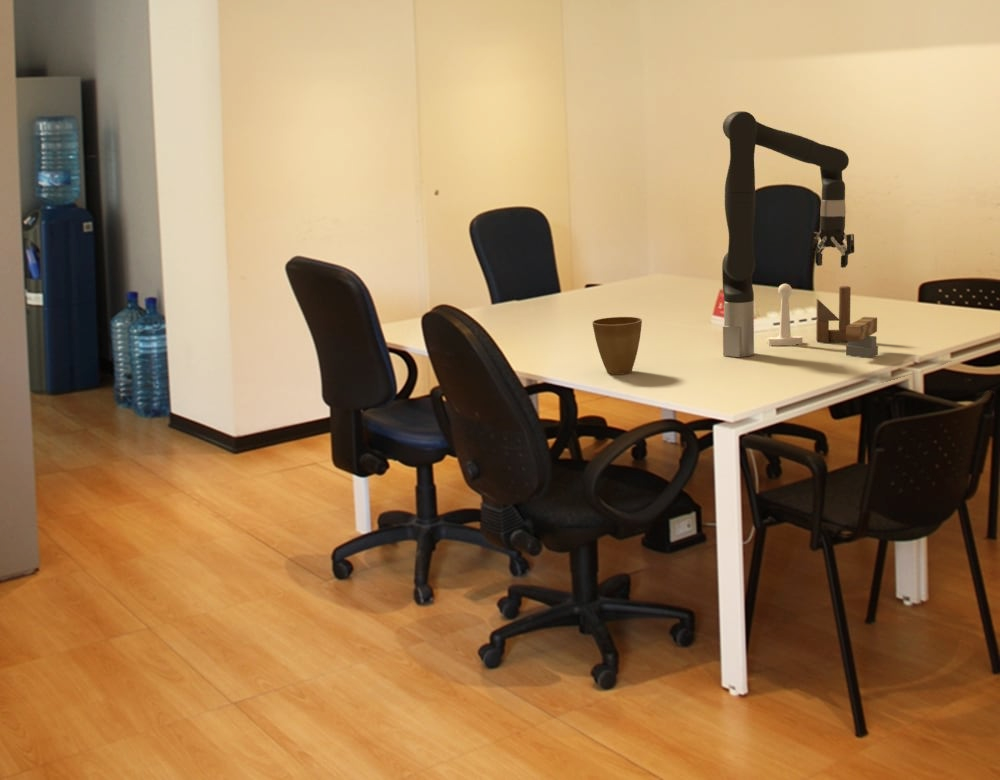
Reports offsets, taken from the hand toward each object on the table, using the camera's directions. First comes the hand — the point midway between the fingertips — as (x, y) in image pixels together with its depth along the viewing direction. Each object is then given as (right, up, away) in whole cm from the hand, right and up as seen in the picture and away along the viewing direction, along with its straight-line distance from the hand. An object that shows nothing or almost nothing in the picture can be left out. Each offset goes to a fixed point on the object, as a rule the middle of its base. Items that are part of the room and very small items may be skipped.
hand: (831, 266), depth 391 cm
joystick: (-10, -24, +20) cm, 32 cm away
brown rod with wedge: (+6, -23, +19) cm, 30 cm away
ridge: (+8, -28, -6) cm, 30 cm away
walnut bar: (+8, -22, -7) cm, 24 cm away
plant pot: (-68, -34, -13) cm, 77 cm away
